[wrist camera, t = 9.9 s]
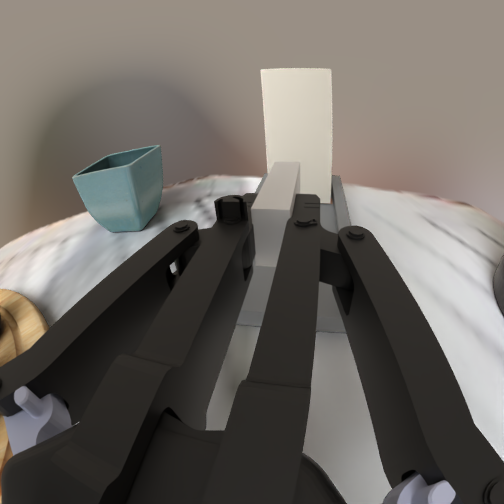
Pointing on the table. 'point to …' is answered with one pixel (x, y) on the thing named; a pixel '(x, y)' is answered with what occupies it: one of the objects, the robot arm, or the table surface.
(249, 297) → the grey chute
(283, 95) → the cream block
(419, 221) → the table surface
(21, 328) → the wooden plate with food
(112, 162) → the flower pot
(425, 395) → the robot arm
